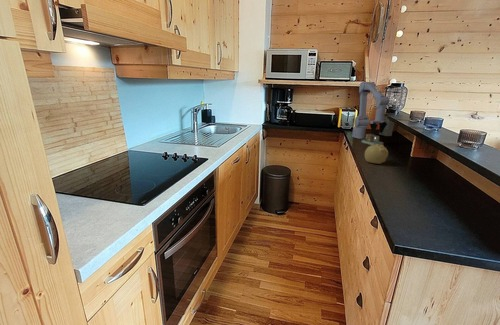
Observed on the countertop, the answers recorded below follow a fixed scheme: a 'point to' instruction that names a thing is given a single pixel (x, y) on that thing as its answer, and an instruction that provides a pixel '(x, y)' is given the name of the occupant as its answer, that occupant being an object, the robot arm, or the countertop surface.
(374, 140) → the metal peg
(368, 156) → the pale yellow round ball
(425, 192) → the countertop surface
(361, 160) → the countertop surface
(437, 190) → the countertop surface
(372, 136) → the oak block
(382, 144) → the parts tray
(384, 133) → the skincare box
